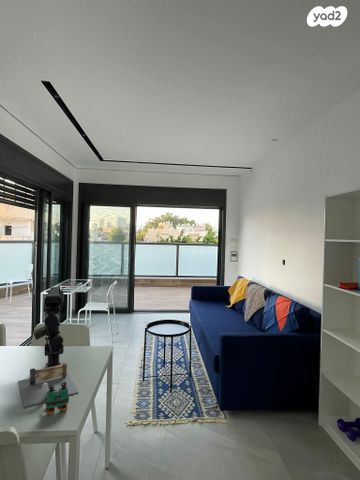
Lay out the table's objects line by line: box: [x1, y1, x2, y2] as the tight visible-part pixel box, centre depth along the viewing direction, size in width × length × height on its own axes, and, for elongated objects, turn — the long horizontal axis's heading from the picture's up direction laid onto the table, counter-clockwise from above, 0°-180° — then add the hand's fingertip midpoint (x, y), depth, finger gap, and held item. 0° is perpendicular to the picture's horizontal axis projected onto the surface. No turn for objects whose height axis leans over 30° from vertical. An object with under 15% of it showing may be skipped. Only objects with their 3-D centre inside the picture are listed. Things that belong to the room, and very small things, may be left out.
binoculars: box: [45, 382, 70, 415], centre depth 116 cm, size 9×11×10 cm
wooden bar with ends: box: [29, 362, 68, 385], centre depth 135 cm, size 16×2×6 cm, turn 124°
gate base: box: [18, 372, 79, 409], centre depth 131 cm, size 24×21×7 cm
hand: (52, 352), depth 140 cm, fingers closed
